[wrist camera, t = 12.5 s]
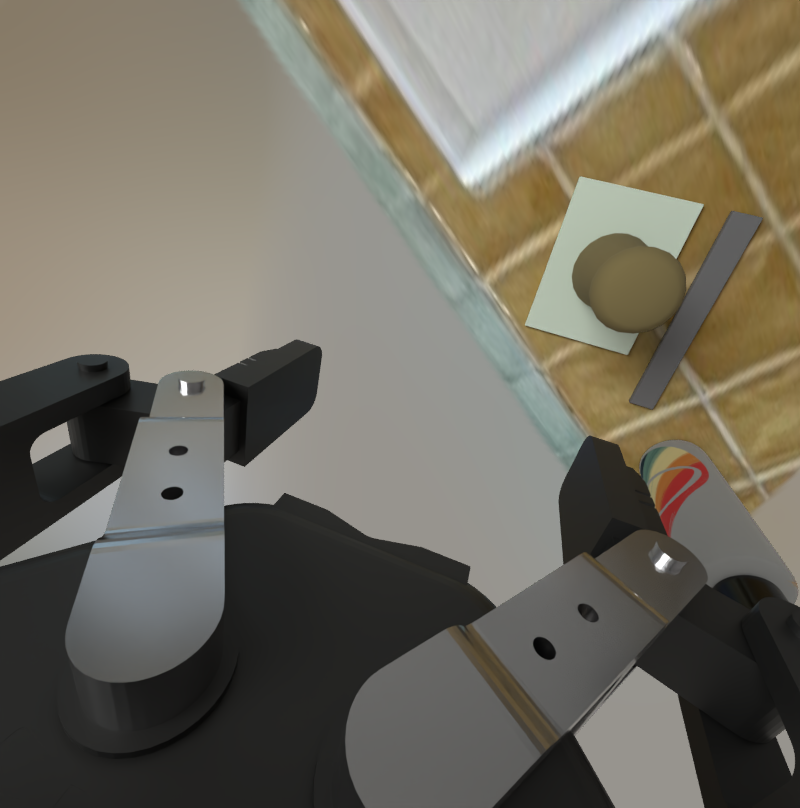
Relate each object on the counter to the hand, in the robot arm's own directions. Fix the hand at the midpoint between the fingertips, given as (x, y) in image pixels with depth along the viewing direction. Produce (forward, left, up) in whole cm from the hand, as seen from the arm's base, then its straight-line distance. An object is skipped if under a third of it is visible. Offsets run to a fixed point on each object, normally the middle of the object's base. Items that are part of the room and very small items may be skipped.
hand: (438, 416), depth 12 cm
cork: (-3, +8, -28) cm, 29 cm away
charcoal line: (-1, +15, -28) cm, 32 cm away
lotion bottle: (+12, +20, -28) cm, 37 cm away
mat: (-3, +8, -28) cm, 29 cm away
